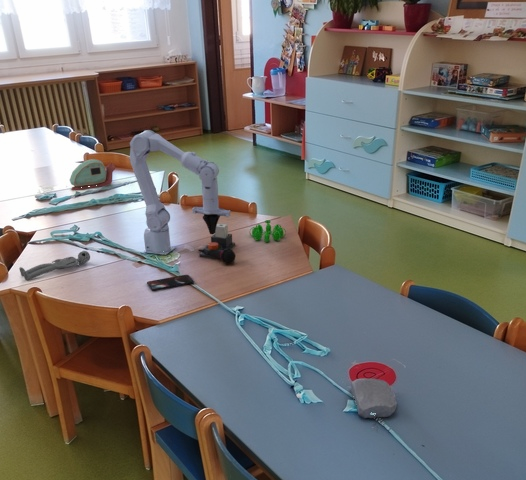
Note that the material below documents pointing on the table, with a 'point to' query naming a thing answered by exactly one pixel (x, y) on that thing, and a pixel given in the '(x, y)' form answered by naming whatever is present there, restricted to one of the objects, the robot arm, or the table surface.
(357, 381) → the stone block
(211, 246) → the power button
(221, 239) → the socket
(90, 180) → the toy snail
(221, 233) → the block
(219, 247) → the adapter
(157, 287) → the smartphone
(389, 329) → the table surface
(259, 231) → the chandelier
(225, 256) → the microphone
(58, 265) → the alien figure
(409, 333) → the table surface
